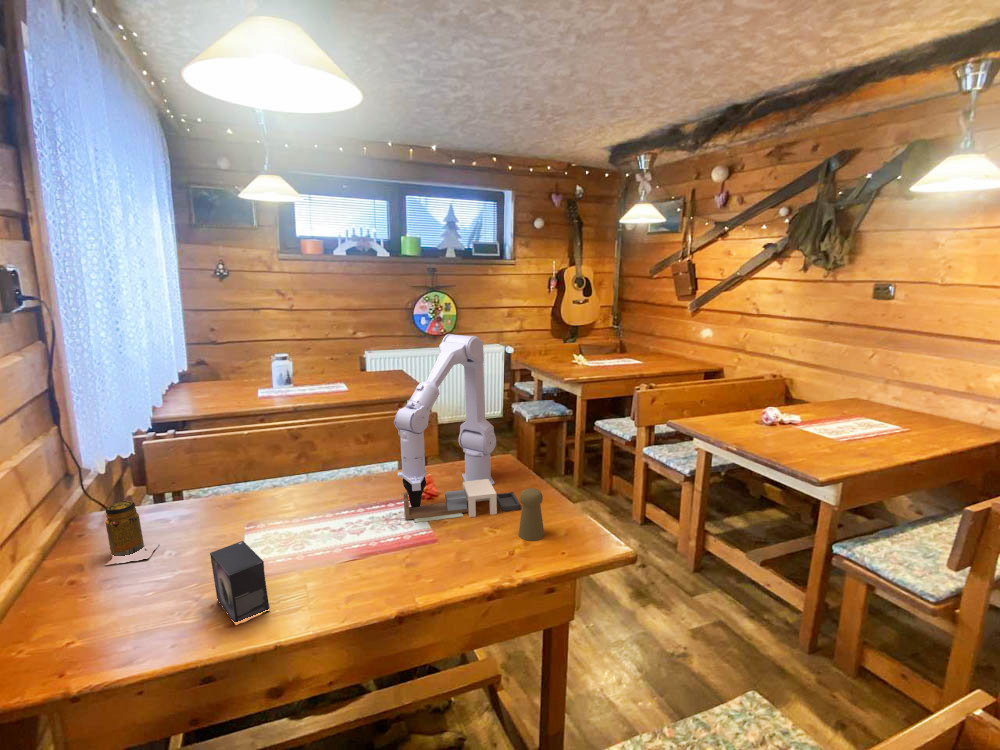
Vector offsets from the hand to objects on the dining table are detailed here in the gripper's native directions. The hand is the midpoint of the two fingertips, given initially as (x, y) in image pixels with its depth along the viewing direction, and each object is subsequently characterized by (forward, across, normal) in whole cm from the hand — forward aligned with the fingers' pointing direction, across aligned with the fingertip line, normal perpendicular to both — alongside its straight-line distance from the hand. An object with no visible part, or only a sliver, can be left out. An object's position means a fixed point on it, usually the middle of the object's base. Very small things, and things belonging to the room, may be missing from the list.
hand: (415, 506), depth 135 cm
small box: (+3, +29, -35) cm, 45 cm away
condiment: (+3, +3, -63) cm, 63 cm away
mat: (+2, 0, +5) cm, 6 cm away
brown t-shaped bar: (+2, 0, +6) cm, 6 cm away
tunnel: (+2, 0, +16) cm, 17 cm away
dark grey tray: (+2, 0, +24) cm, 24 cm away
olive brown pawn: (+3, +17, +25) cm, 31 cm away
